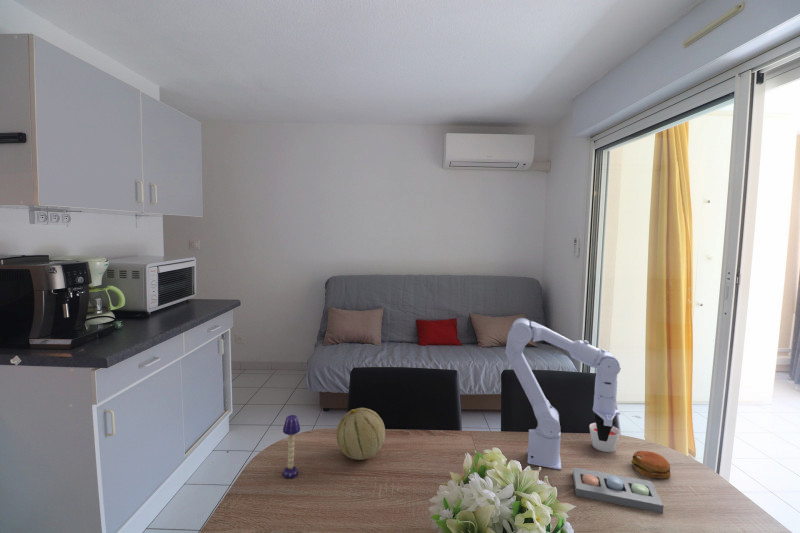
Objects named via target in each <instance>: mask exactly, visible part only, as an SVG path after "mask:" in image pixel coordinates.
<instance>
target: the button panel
mask: <svg viewBox="0 0 800 533" xmlns="http://www.w3.org/2000/svg"><path fill="white" fill-rule="evenodd" d="M585 474H589V475H593V476H595V477H597V478H598V480H599V483H598V484H599V485H598V486H594V485H589V484H584V483H582V477H583V475H585ZM609 476H614V477H617V478H619V479H621V480H622V481H623V482H624V483H623V491H620V490H614V489H609V488H607V486H606V483H607V477H609ZM572 479H573V484H574V491H575V492H574V493H575V496H576V497H579V498H580V497H581V498H586V499H590V500H591V499H592V500H595V501H601V502H606V503H610V504H616V505H621V506H625V507H630V508H634V509H640V510H645V511H650V512H655V513H659V514H664V504H663V502H662V500H661V498H660V496H659V493H658V491H657V489H656V487H655V485H654V483H653V481H651V480H646V479H642V478H641V479H640V478H635V477H629V476H625V475H624V476H623V475H619V474H614V473H613V474H612V473H608V472H604V471H603V472H602V471H596V470H592V469H587V468H580V467H574V466H572ZM634 483H637V484H641V485H644V486H646V487H647V488H648V489H649V496H645V495H640V494H635V493H632V492H631V486H632V484H634Z"/></svg>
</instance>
